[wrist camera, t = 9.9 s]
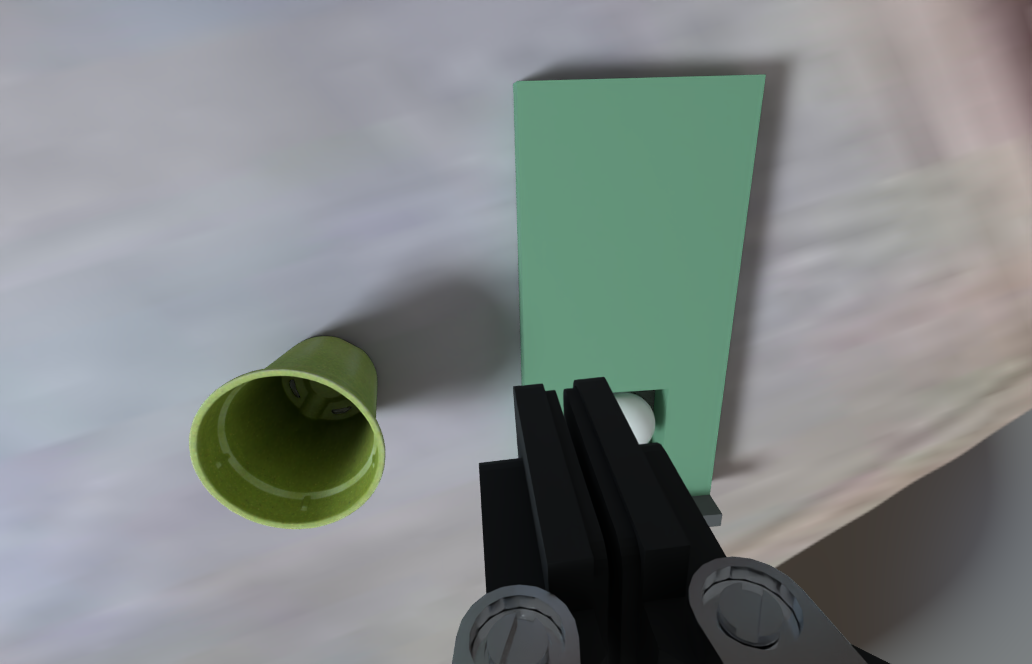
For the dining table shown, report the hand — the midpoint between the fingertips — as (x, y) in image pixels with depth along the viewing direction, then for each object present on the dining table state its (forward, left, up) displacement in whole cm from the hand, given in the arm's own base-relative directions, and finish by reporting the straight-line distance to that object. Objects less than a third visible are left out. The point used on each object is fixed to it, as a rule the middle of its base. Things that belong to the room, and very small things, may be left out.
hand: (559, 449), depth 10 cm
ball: (+13, +8, -22) cm, 27 cm away
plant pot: (+10, -11, -24) cm, 28 cm away
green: (+7, +8, -24) cm, 26 cm away
